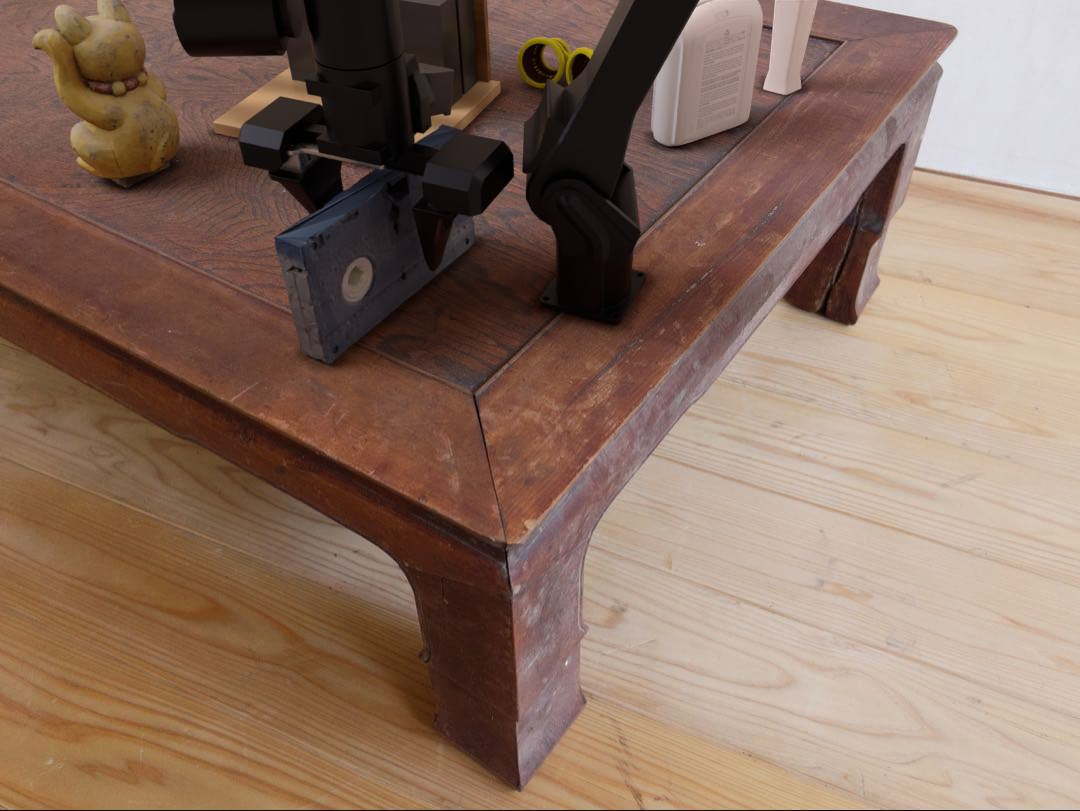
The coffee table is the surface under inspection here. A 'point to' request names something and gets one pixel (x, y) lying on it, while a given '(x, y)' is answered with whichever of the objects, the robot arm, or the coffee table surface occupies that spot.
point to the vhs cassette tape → (360, 257)
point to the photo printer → (708, 73)
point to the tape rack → (428, 32)
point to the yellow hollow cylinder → (540, 71)
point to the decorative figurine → (110, 93)
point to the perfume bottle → (789, 44)
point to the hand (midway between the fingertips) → (389, 256)
